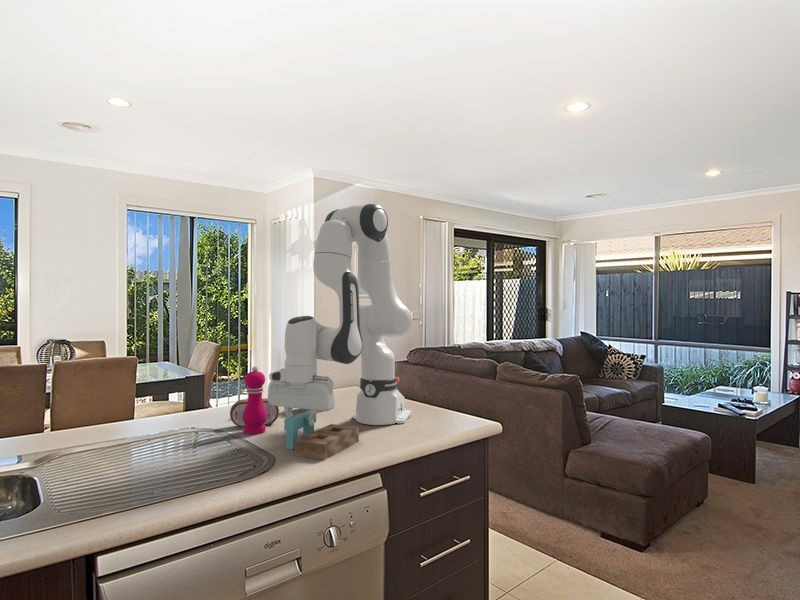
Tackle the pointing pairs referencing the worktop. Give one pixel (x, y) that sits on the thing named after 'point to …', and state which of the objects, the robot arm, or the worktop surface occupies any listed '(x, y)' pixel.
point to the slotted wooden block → (326, 441)
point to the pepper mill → (254, 403)
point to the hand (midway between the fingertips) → (300, 424)
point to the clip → (296, 428)
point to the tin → (240, 406)
